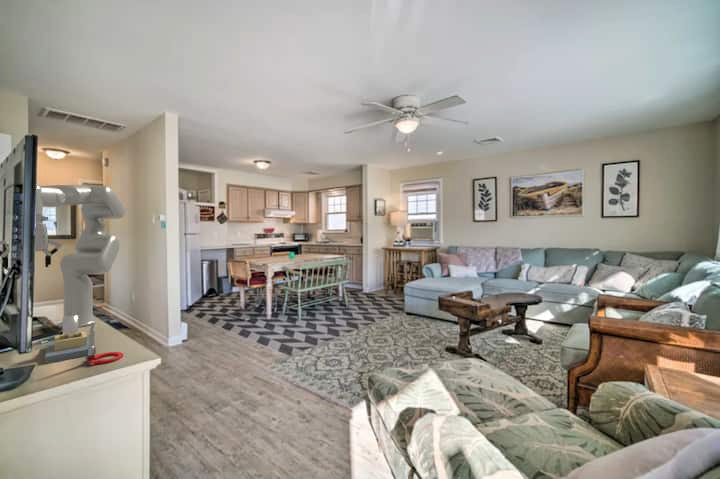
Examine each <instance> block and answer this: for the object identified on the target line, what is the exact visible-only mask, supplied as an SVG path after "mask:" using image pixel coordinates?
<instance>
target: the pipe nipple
mask: <svg viewBox="0 0 720 479" xmlns="http://www.w3.org/2000/svg"><path fill="white" fill-rule="evenodd" d="M62 322H63V328H62V335H63V340H64V339H70V338H76V337H79V335H78V332H79V327H78V315H68V316H64V315H63V316H62Z"/></svg>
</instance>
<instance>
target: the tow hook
mask: <svg viewBox="0 0 720 479" xmlns="http://www.w3.org/2000/svg"><path fill="white" fill-rule="evenodd" d="M95 330H96V329H95V323H94V322H92V323H91V325H90V329H89V335H90V336H89V347H88V355H86V356H85V361H86V363H87V364H88V365H89V366H90V367H93V366H95V365H99V364H107V363H113V361H114V362H116V360H117V361H119V360H121V359H123V358H124V352H120V351H109V352H103V353H98V354H94V344H95V332H96V331H95ZM113 355H116V356H113ZM108 356H109V357H111V356H113V357H111V358H105V359H100V358H104V357H108ZM122 357H123V358H122ZM120 358H121V359H120Z"/></svg>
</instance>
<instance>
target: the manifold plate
mask: <svg viewBox="0 0 720 479" xmlns="http://www.w3.org/2000/svg"><path fill="white" fill-rule="evenodd" d="M78 335H79V337H76V338H70V339H64V340H63V334H58V335H54V340H51V341H47V342H46V348H45V349H46V350H45V357H44V358H45V359H44V360H45V362H44V364H50V363H54V362H55V363H56V362H59V361H64V360H70V359H75V358H80V357H87V355H88V347H89V336H90V334H87V332H86V330H85V331H78ZM94 355H96V344H95V343H94Z"/></svg>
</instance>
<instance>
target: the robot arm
mask: <svg viewBox="0 0 720 479" xmlns="http://www.w3.org/2000/svg"><path fill="white" fill-rule="evenodd" d="M76 205H78V206H79V205H81V208H80V211H81V215H82V218H83V222H84V228H83V230H82V232H81V233H80V235H79V237H78V240H77V241H76V243H75V246H74V249H75V251H76V252H72V253H68V254H65V255H64V256H62V257H61V259H60V263H59V264H60V271H61V273H62V279H63V280H62V281H63V317H64V316H68V315H78V328H81V327H86V326H91V323H92V322H94V324H96V323H97V322H98V318H96V317H94V316H93V315H94V314H93V311H94V310H93V307H94V306H93V305H94V302H93V301H94V300H93V293H94V292H93V288H94V287H93V285H94V284H93V281H92V280H91V278H90V277H89V275H105V274H107V273H109V272H110V271H111V269H112V267H113V265H114V262H115V260H116V258H117V255H118V253H119V251H120V246H121V245H120V239H119V238H118V237H117V236H115V235H113V234H107V233H108V228H107V226H106V225H105V224H104V223H103V222H102V221H101V219H107V220H110V219H111V220H113V219H115V220H116V219H119V220H120V219H122V218H123V217H124V216H125V214H126V208H125V206H124V204H123V202H122V200H121V199H120V197H119V196H118V195H117V193H116V192H115V191H114V190H113V189H112V188H111V187H110V186H107V185H97V184H96V185H94V184H57V185H56V184H53V185H37V188H36V227H35V251H34V252H42V253H44V254H45V256H44V258H45V260H44V261H45V262H44V263H45V264H44V266H45V268H49V265H52V256H53V255H54V254H56V253H57V252H58V251H59V249H60V248H61V247H62V243H60V242H57V241H55V240H51V239H49V237H48V230H47V229H48V227H47V224H46V223H43V222H45V221H49V216H44V215H43V208H57V207H60V206H76ZM49 244H50V245H53V246H54V248H53V249H52V250H48V248H49ZM1 245H5V251H2V250H0V258H1V261H2V260H4V264H3V263H2V262H1V266H2V267H4V270H8V269H7V267H8V258H7V254H8V246H7V243H6V241H5V239H2V240H0V246H1ZM8 255H9V254H8ZM58 327H59V328H61V329H63V321H62V322H60V323H58Z"/></svg>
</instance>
